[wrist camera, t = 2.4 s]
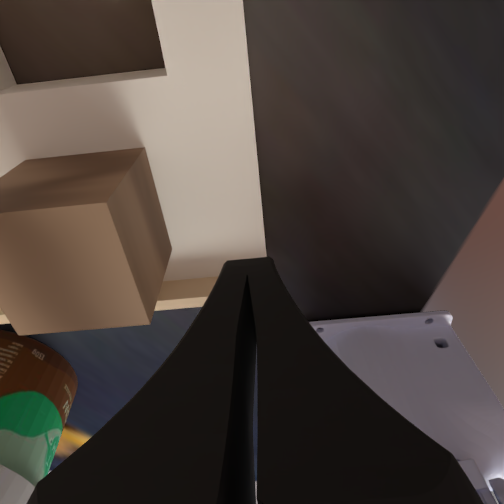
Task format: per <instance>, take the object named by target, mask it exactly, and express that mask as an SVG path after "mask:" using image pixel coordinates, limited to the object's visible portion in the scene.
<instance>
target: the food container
mask: <svg viewBox="0 0 504 504" xmlns="http://www.w3.org/2000/svg"><path fill="white" fill-rule="evenodd" d="M77 386H78V381H77V376H76V374H75V371H74V370H73V368H72V367H71V365H70V364H69V363H68V362H67V361H66V360H65V359H64V358H63V357H62V356H61V355H60V354H59V353H57V352H56V351H55V350H53V349H51V348H50V347H48V346H47V345H45V344H43V343H41V342H39V341H37V340H34V339H32V338H29V337H27V336H24V335H20V336H19V335H18V334H17V333H13V332H9V331H4V330H0V504H26V503H27V502H28V500H29V498H30V496H31V494H32V492H33V490H34V488H35V486H36V484H37V483H38V482H39V481H40V480H41V479H43V478H44V477H45V476H46V475H47V474H48V472H49V469H50V466H51V463H52V460H53V457H54V454H55V451H56V448H57V446H58V443H59V440H60V437H61V434H62V431H63V428H64V425H65V422H66V420H67V417H68V414H69V411H70V408H71V405H72V402H73V399H74V396H75V394H76V391H77Z"/></svg>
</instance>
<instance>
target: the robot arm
mask: <svg viewBox="0 0 504 504" xmlns="http://www.w3.org/2000/svg"><path fill="white" fill-rule="evenodd" d="M452 319H453V317H452V315H451V314H450V312H449V311H432V312H420V313H408V314H396V315H384V316H373V317H361V318H349V319H337V320H325V321H314V322H308V320H307V319H306V318H305V316H304V315H303V314H302V312H301V311H300V309H299V308H298V307H297V305H296V303H295V302H294V300H293V299H292V297H291V296H290V294H289V292H288V291H287V289H286V287H285V286H284V284H283V282H282V280H281V278H280V276H279V274H278V272H277V269H276V267H275V264H274V260H273V259H272V258H270V257H260V258H249V259H239V260H228V261H226V262H225V263H224V264H223V267H222V269H221V272H220V274H219V276H218V279H217V281H216V283H215V285H214V287H213V289H212V291H211V292H210V294H209V296H208V298H207V300H206V301H205V303H204V305H203V307H202V308H201V310H200V312H199V314H198V315H197V317H196V318H195V320H194V321H193V323H192V324H191V326H190V327H189V329H188V330H187V332H186V333H185V335H184V336H183V338H182V339H181V341H180V342H179V343H178V345H177V346H176V347H175V349H174V350H173V351H172V353H171V354H170V355H169V357H168V358H167V359H166V360H165V362H164V363H163V364H162V365H161V367H160V368H159V369H158V370H157V371H156V372H155V373H154V375H153V376H152V377H151V378H150V379H149V380H148V381H147V383H146V384H145V385H144V386H143V387H142V388H141V389H140V390H139V391H138V392H137V394H136V395H135V396H134V397H133V398H132V399H131V400H130V401H129V402H128V403H127V404H126V405H125V406H124V407H123V408H122V409H121V410H120V411H119V412H118V413H117V414H116V415H114V416H113V417H112V418H111V419H110V420H109V421H108V422H107V423H106V424H105V425H104V426H103V427H102V428H101V429H100V430H99V431H98V432H97V433H96V434H95V435H94V436H92V437H91V438H90V439H89V440H88V441H87V442H86V443H85V444H83V445H82V446H81V447H80V448H79V449H77V450H76V451H75V452H74V453H73V454H71V455H70V456H69V457H68V458H67V459H66V460H64V461H63V462H62V463H61V464H60V465H58V466H57V467H56V468H55V469H54V470H52V471H51V472H50V473H49V474H48V475H46V476H45V477H44V478H43V479H41V480H40V481H39V482H38V483H37V484H36V486H35V488H34V490H33V492H32V494H31V496H30V498H29V500H28V502H27V503H26V504H256V497H255V474H254V449H253V404H254V384H255V364H256V343H257V371H258V453H257V501H258V504H497V503H496V501H495V499H494V497H493V496H492V494H491V492H490V491H493V492H494V494H495V496H496V498H497V500H498V502H499V504H504V409H503V407H502V405H501V403H500V402H499V400H498V398H497V397H496V395H495V394H494V392H493V390H492V389H491V387H490V386H489V384H488V383H487V382H486V380H485V378H484V376H483V375H482V373H481V372H480V370H479V369H478V367H477V366H476V364H475V363H474V361H473V360H472V358H471V356H470V355H469V353H468V352H467V350H466V349H465V348H464V346H463V344H462V343H461V341H460V340H459V338H458V336H457V335H456V333H455V332H454V330H453V329H452V327H451V322H452ZM317 328H320V329H317Z"/></svg>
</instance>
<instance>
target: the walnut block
mask: <svg viewBox="0 0 504 504" xmlns="http://www.w3.org/2000/svg"><path fill="white" fill-rule="evenodd" d="M171 252H172V246H171V243H170V239H169V235H168V231H167V228H166V224H165V220H164V216H163V213H162V209H161V205H160V202H159V198H158V194H157V190H156V187H155V183H154V179H153V175H152V172H151V168H150V164H149V161H148V157H147V153H146V149H145V147H143V148H133V149H124V150H114V151H105V152H95V153H86V154H76V155H67V156H57V157H48V158H39V159H29V160H25V161H23V162H22V163H20V164H19V165H17V166H16V167H15V168H13V169H12V170H10V171H9V172H7V173H6V174H5V175H3V176H2V177H0V308H1V310H2V311H3V313H4V314H5V316H6V317H7V319H8V320H9V322H10V323H11V325H12V326H13V328H14V329H15V331H16V332H17V334H18V335H19V336H20V335H32V334H43V333H55V332H67V331H78V330H90V329H102V328H113V327H125V326H136V325H148V324H150V323H151V320H152V316H153V313H154V310H155V306H156V303H157V299H158V296H159V293H160V289H161V286H162V282H163V279H164V276H165V272H166V269H167V265H168V262H169V259H170V255H171Z"/></svg>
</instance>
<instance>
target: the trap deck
mask: <svg viewBox="0 0 504 504" xmlns="http://www.w3.org/2000/svg"><path fill="white" fill-rule="evenodd" d="M151 1H152V6H153V10H154V15H155V20H156V25H157V29H158V34H159V39H160V44H161V49H162V53H163V58H164V63H165V68H159V69H150V70H141V71H132V72H123V73H115V74H106V75H97V76H88V77H80V78H71V79H62V80H53V81H45V82H36V83H27V84H18V85H17V83H16V81H15V79H14V76H13V74H12V72H11V69H10V67H9V65H8V62H7V60H6V58H5V55H4V53H3V51H2V48H1V46H0V177H2V176H3V175H5V174H6V173H7V172H9V171H10V170H12V169H13V168H15V167H16V166H17V165H19V164H20V163H22V162H23V161H25V160H29V159H39V158H48V157H57V156H67V155H76V154H86V153H95V152H105V151H114V150H124V149H133V148H143V147H145V149H146V153H147V157H148V161H149V164H150V168H151V172H152V175H153V179H154V183H155V187H156V190H157V194H158V198H159V202H160V205H161V209H162V213H163V216H164V220H165V224H166V228H167V231H168V235H169V239H170V243H171V246H172V252H171V255H170V259H169V262H168V265H167V269H166V272H165V276H164V279H163V282H162V286H161V289H160V293H159V296H158V299H157V303H156V306H155V310H154V311H157V310H169V309H180V308H192V307H203V305H204V303H205V301H206V300H207V298H208V296H209V294H210V292H211V291H212V289H213V287H214V285H215V283H216V281H217V279H218V276H219V274H220V272H221V269H222V267H223V264H224V263H225V262H226V261H228V260H239V259H249V258H260V257H267V255H266V245H265V234H264V223H263V212H262V202H261V191H260V180H259V169H258V159H257V148H256V137H255V127H254V116H253V105H252V94H251V84H250V73H249V62H248V52H247V41H246V30H245V19H244V9H243V0H151ZM8 323H10V322H9V320H8V319H7V317H6V316H5V314H4V313H3V311H2V310H1V308H0V324H8Z"/></svg>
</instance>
